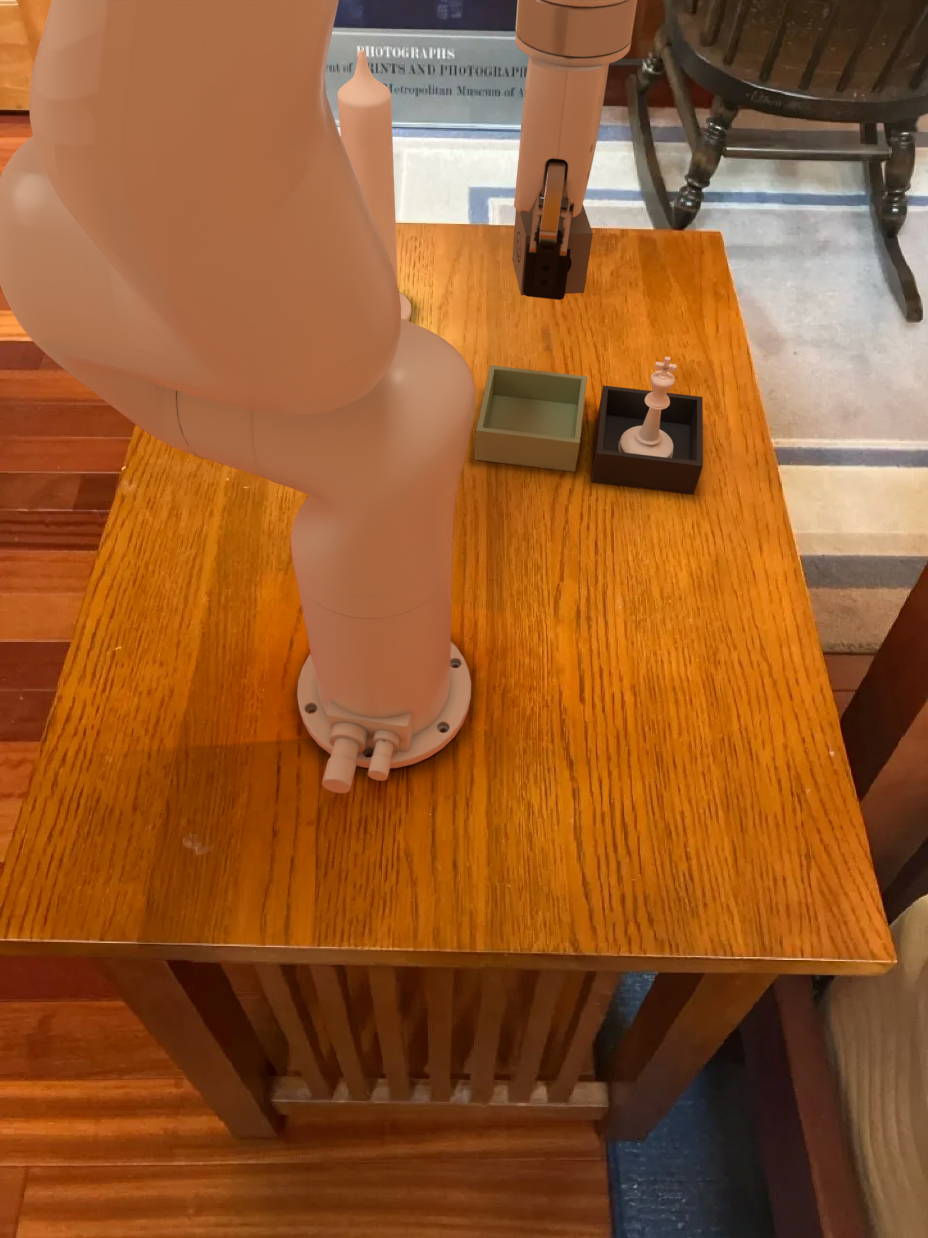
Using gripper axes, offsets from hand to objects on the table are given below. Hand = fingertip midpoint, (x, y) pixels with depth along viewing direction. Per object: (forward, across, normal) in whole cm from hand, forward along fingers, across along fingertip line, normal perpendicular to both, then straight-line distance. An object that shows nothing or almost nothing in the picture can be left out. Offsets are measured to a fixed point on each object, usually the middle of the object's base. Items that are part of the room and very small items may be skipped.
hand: (547, 269), depth 74 cm
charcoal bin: (+16, +2, +10) cm, 19 cm away
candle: (+16, -14, -18) cm, 28 cm away
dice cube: (+1, 0, 0) cm, 1 cm away
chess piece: (+16, +2, +11) cm, 19 cm away
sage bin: (+16, +1, 0) cm, 16 cm away
